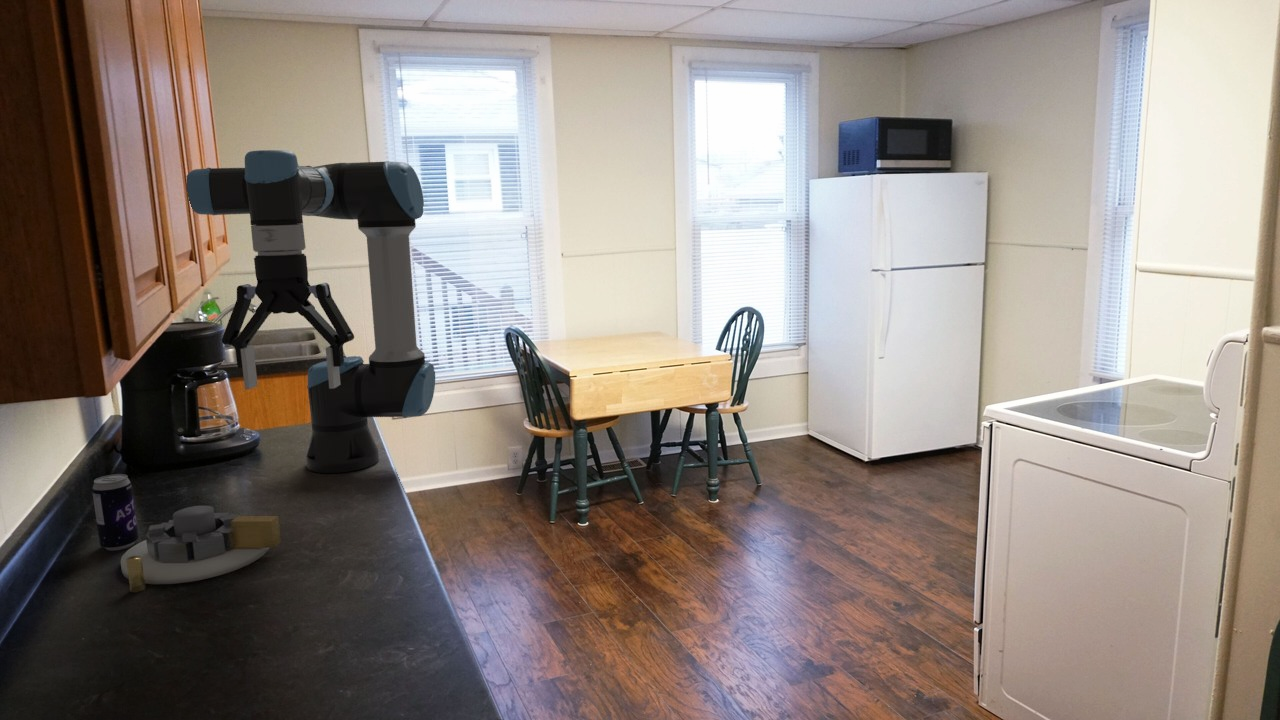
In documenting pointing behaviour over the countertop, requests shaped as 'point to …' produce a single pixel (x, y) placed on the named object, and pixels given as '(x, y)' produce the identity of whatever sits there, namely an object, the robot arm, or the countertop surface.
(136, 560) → the stop pin
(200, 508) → the housing
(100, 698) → the countertop surface
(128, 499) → the beverage can
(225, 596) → the countertop surface
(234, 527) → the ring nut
